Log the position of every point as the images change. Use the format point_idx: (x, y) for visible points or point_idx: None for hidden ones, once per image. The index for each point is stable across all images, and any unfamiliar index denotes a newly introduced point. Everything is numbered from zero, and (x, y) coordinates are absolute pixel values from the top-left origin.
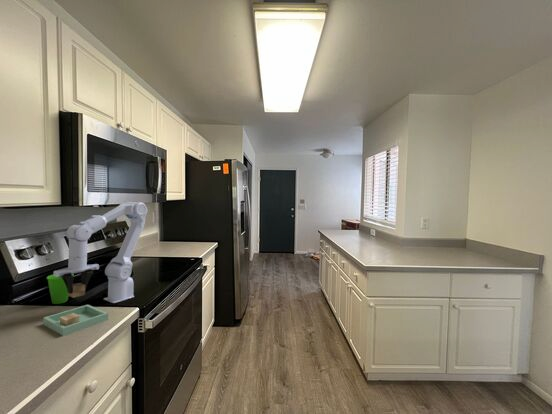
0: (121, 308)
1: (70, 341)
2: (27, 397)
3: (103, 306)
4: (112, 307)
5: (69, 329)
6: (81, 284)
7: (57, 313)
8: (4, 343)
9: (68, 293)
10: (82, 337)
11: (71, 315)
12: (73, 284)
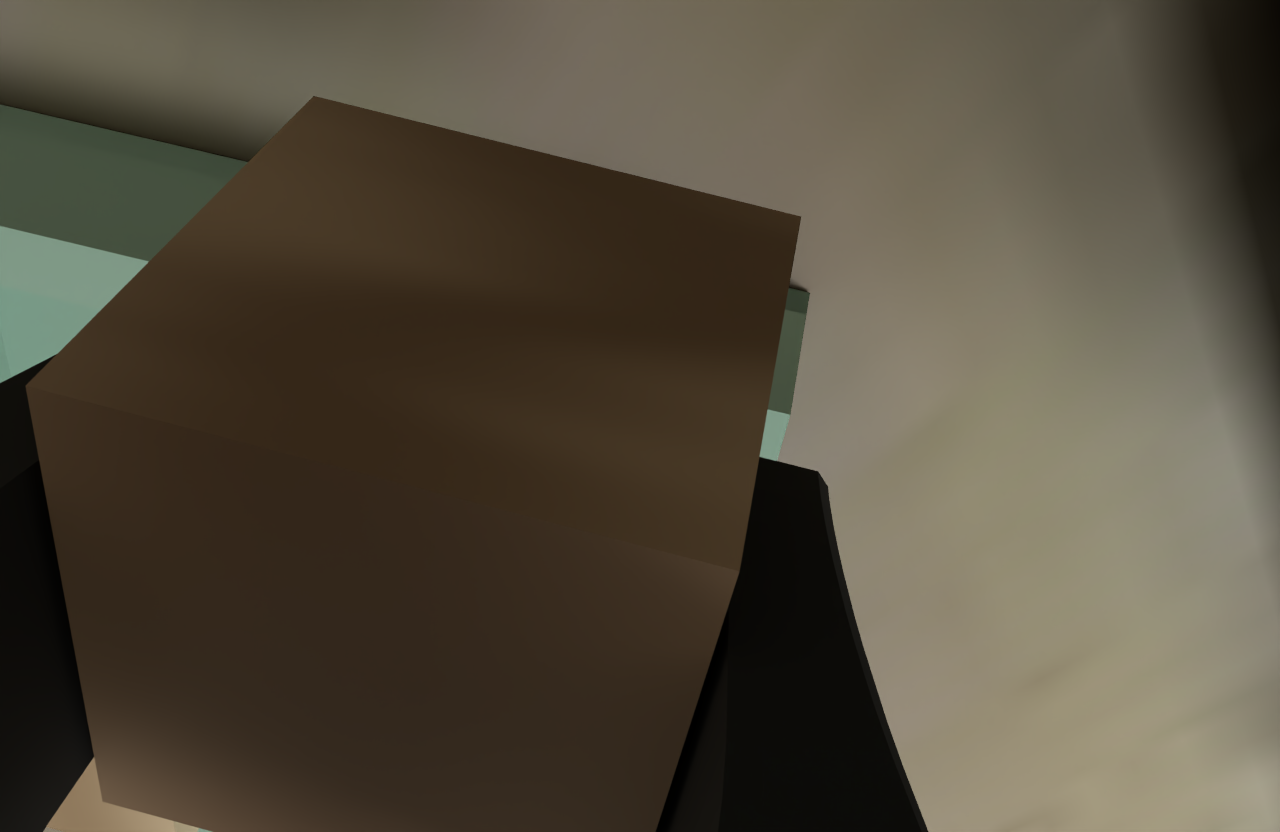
0: (1226, 732)
1: None
2: None
3: (1264, 348)
4: (1243, 564)
5: None
6: (542, 821)
7: (56, 242)
8: None
9: (273, 173)
10: None
11: (95, 766)
12: (289, 519)
